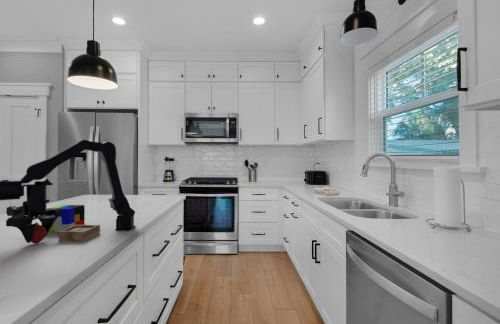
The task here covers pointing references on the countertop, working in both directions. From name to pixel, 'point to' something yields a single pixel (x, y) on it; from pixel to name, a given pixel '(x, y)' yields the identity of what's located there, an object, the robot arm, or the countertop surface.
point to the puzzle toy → (69, 217)
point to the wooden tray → (79, 233)
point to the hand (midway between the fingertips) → (36, 239)
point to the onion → (38, 234)
